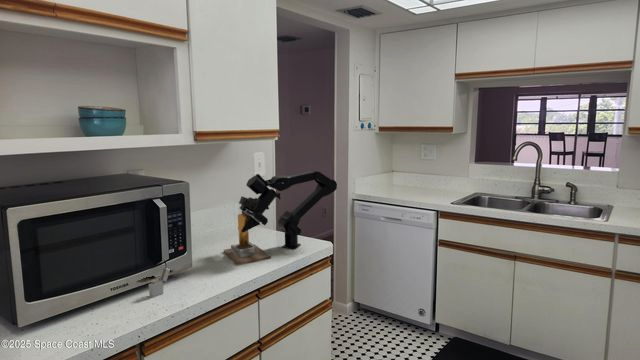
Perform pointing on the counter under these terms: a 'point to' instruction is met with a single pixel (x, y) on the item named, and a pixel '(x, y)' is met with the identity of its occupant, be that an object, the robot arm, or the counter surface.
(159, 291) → the lighter
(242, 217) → the post
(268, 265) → the counter surface
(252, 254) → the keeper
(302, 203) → the robot arm
